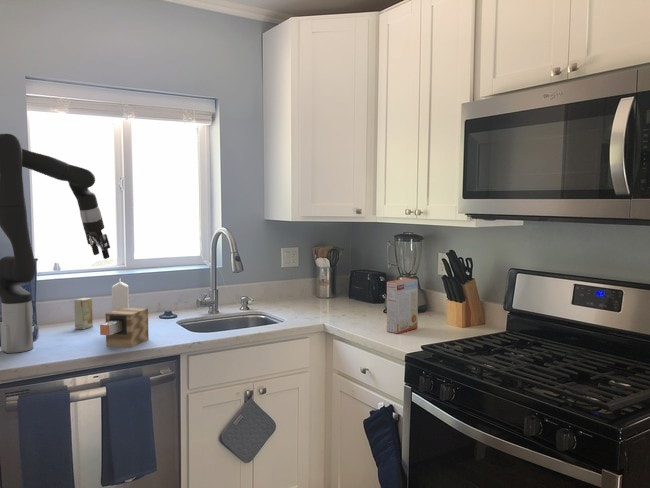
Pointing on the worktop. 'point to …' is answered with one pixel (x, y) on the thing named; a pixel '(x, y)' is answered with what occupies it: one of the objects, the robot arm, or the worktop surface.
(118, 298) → the milk
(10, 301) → the robot arm
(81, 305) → the skincare box
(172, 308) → the worktop surface
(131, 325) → the block
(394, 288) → the cracker box
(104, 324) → the peg
